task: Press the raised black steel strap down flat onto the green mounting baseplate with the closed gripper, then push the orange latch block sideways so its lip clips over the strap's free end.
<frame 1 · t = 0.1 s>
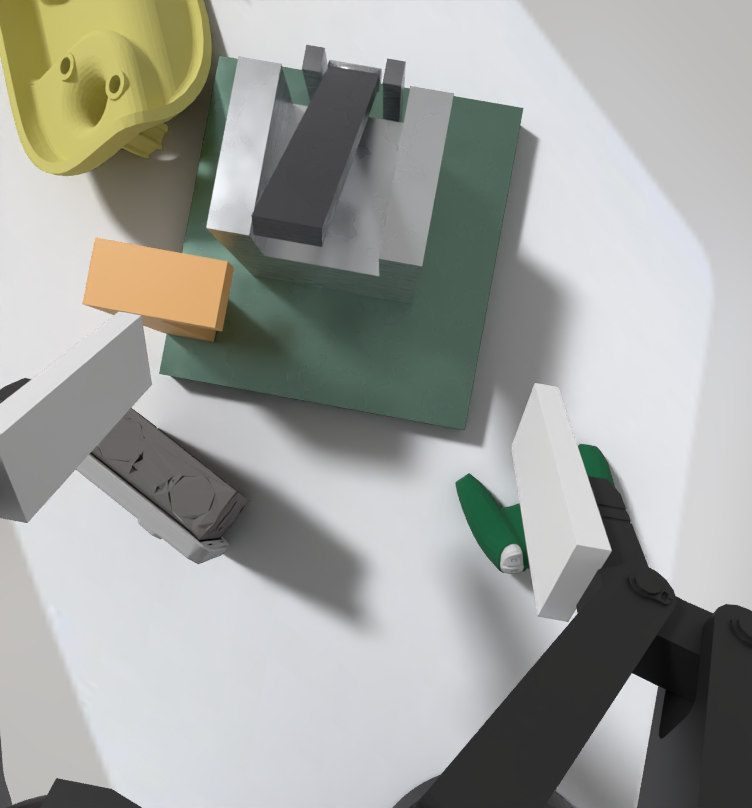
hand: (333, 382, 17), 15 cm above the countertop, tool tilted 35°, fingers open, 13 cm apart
latch: (191, 303, 27), point 6 cm above the countertop, slide at 0.0 cm
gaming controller: (532, 502, 33), on the countertop
electrical switch: (191, 473, 33), on the countertop
plastic component: (118, 58, 33), on the countertop
strap: (328, 137, 22), point 11 cm above the countertop, hinge at 35.0°
green mounting baseplate: (342, 249, 33), on the countertop
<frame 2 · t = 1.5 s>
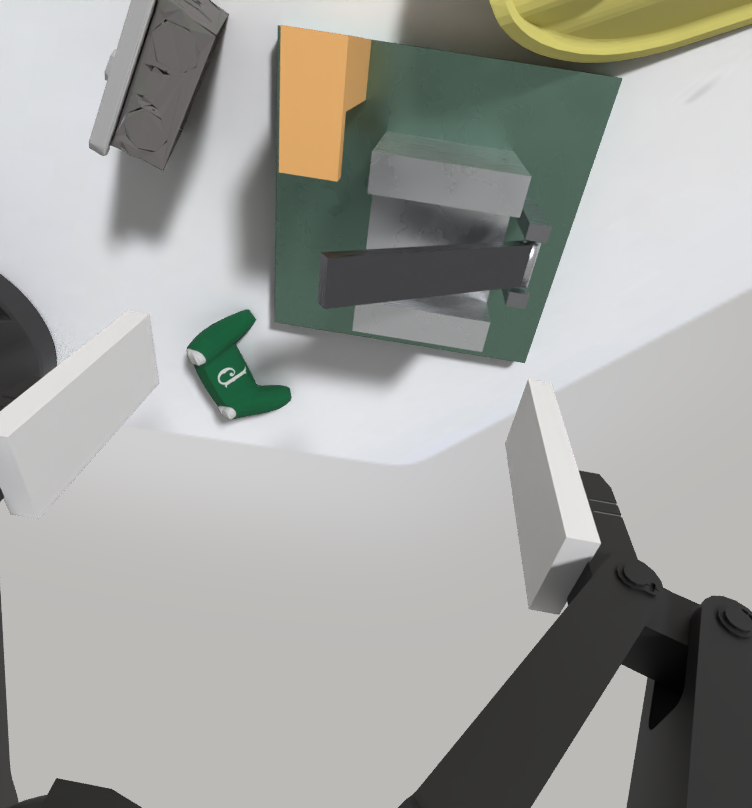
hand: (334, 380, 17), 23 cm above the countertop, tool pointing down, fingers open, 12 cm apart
latch: (328, 101, 27), point 6 cm above the countertop, slide at 0.0 cm
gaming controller: (246, 358, 45), on the countertop
electrical switch: (192, 61, 32), on the countertop
strap: (439, 271, 27), point 11 cm above the countertop, hinge at 35.0°
green mounting baseplate: (421, 214, 36), on the countertop
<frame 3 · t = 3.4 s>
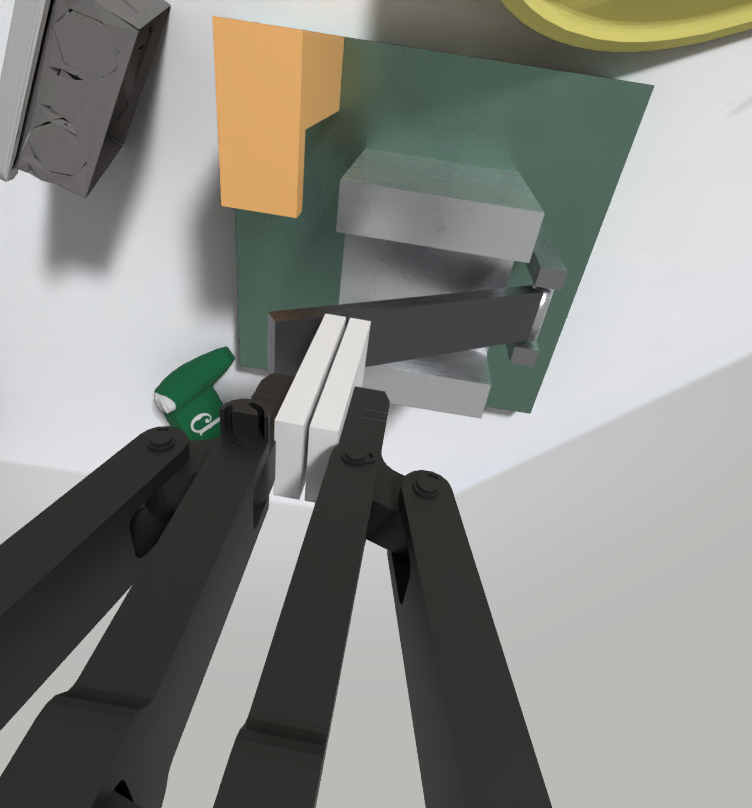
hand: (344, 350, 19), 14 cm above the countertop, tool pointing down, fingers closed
latch: (287, 114, 22), point 6 cm above the countertop, slide at 0.0 cm
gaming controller: (225, 400, 39), on the countertop
electrical switch: (130, 62, 27), on the countertop
strap: (425, 327, 21), point 11 cm above the countertop, hinge at 33.9°, touching gripper
green mounting baseplate: (408, 244, 30), on the countertop
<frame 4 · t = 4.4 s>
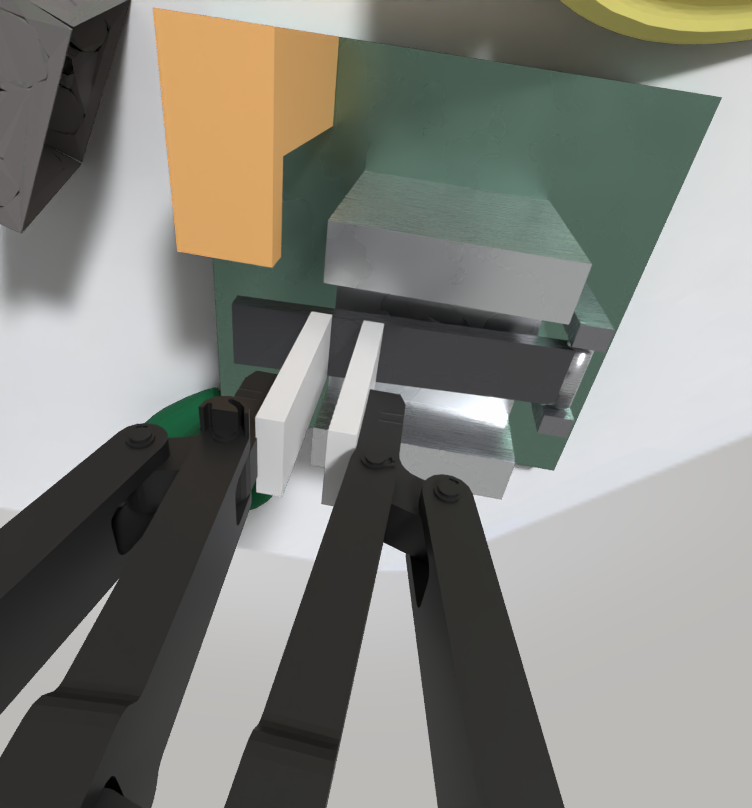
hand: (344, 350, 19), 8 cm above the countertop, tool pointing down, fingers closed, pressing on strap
latch: (266, 133, 17), point 6 cm above the countertop, slide at 0.0 cm
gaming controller: (215, 443, 35), on the countertop
electrical switch: (86, 66, 22), on the countertop
strap: (411, 353, 20), point 8 cm above the countertop, hinge at 4.6°, touching gripper
green mounting baseplate: (415, 279, 26), on the countertop
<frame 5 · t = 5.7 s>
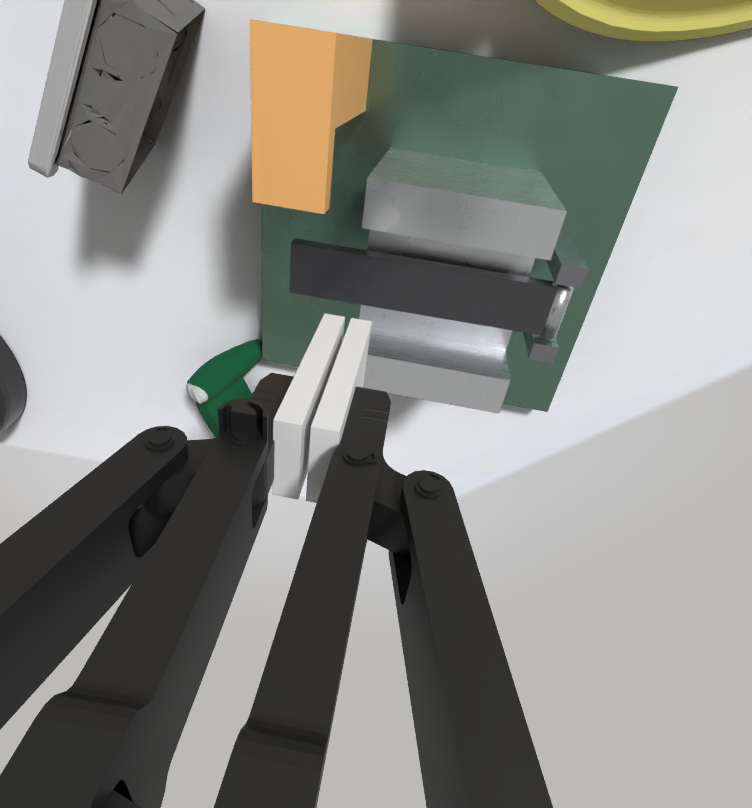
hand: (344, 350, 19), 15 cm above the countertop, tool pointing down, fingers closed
latch: (317, 114, 22), point 6 cm above the countertop, slide at 0.0 cm
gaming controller: (255, 392, 40), on the countertop
electrical switch: (164, 63, 28), on the countertop
strap: (427, 288, 25), point 7 cm above the countertop, hinge at 1.1°
green mounting baseplate: (430, 242, 31), on the countertop
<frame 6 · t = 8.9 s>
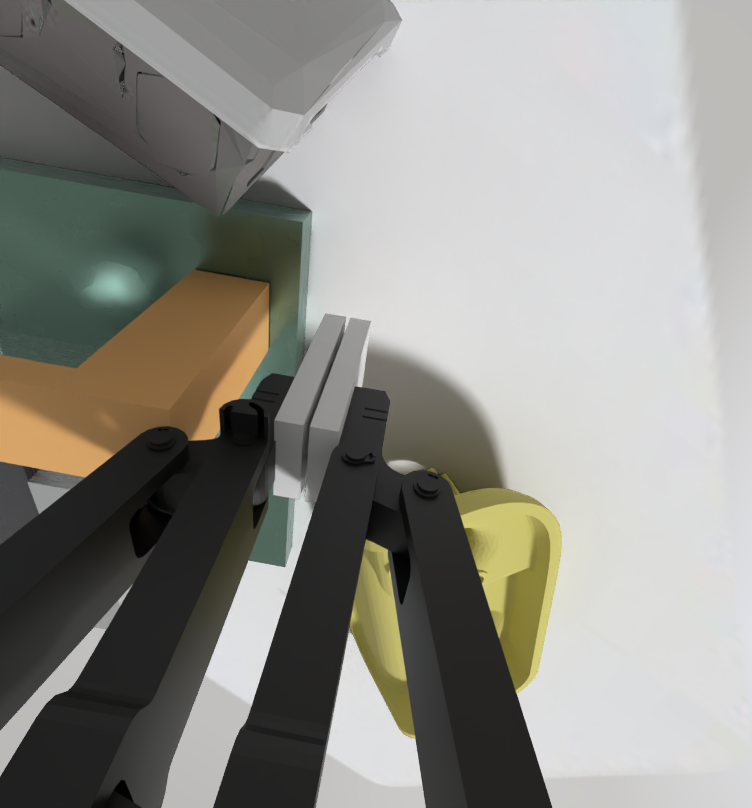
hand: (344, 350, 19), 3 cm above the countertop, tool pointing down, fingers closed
latch: (144, 356, 17), point 6 cm above the countertop, slide at 1.2 cm, touching gripper
electrical switch: (249, 5, 16), on the countertop
plastic component: (444, 553, 30), on the countertop
strap: (12, 489, 20), point 7 cm above the countertop, hinge at 1.1°
green mounting baseplate: (113, 383, 25), on the countertop
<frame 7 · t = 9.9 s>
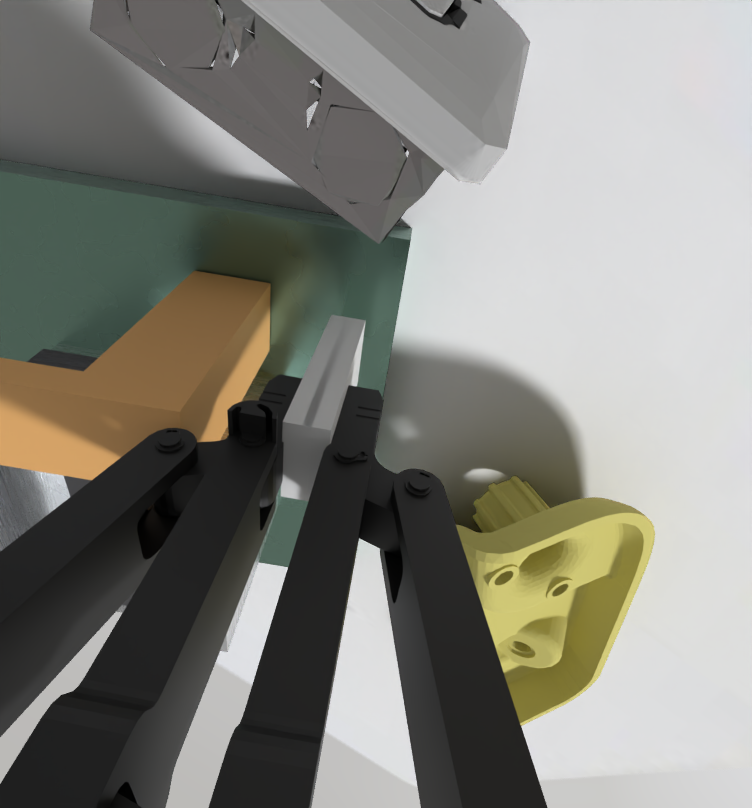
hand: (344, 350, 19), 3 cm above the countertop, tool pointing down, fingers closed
latch: (147, 358, 17), point 6 cm above the countertop, slide at 5.1 cm, touching gripper
electrical switch: (368, 25, 16), on the countertop
plastic component: (511, 559, 31), on the countertop
strap: (113, 510, 19), point 7 cm above the countertop, hinge at 1.1°
green mounting baseplate: (188, 398, 25), on the countertop
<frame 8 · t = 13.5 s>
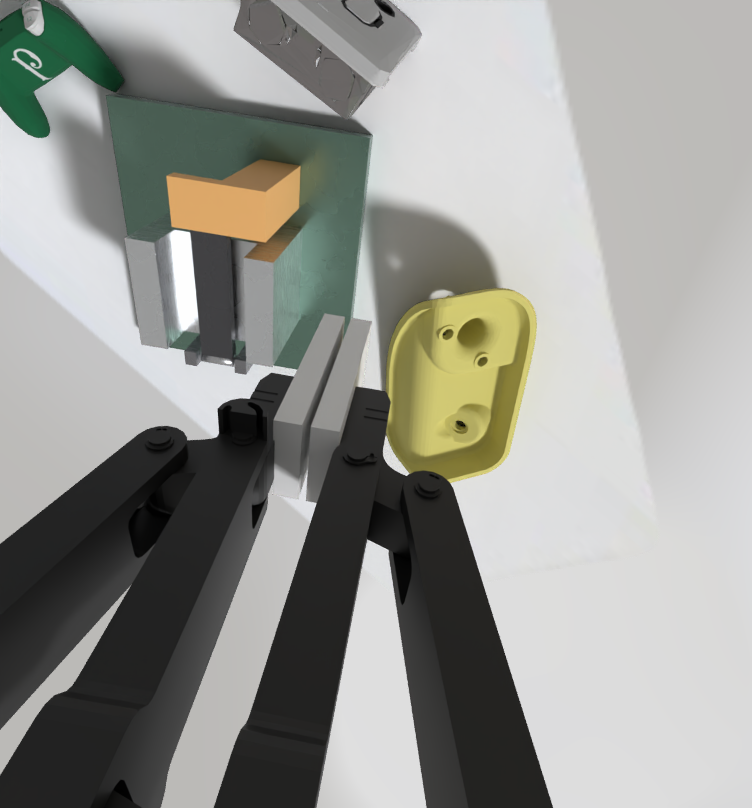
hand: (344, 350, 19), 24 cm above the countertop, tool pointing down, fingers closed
latch: (240, 193, 34), point 6 cm above the countertop, slide at 4.8 cm
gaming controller: (60, 70, 37), on the countertop
electrical switch: (347, 27, 33), on the countertop
plastic component: (458, 366, 47), on the countertop
strap: (214, 284, 37), point 7 cm above the countertop, hinge at 1.1°
green mounting baseplate: (246, 249, 43), on the countertop
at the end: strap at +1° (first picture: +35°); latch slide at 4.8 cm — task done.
